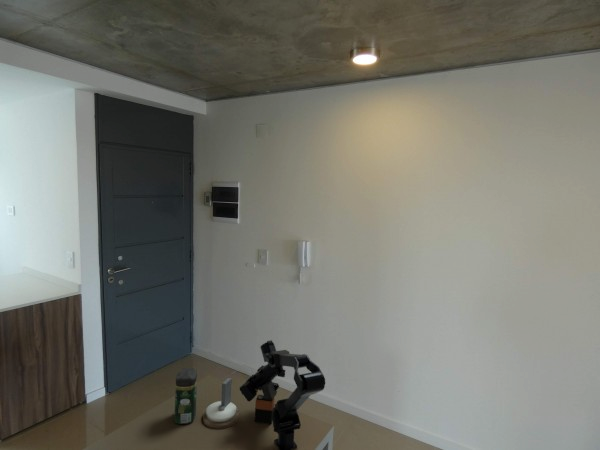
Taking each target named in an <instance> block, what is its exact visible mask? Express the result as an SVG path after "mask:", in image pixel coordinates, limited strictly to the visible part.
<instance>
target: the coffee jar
mask: <svg viewBox="0 0 600 450" xmlns="http://www.w3.org/2000/svg"><path fill="white" fill-rule="evenodd" d="M174 384H175V386H174V387H175V388H174V390H175V392H174V393H175V394H174V419H173V421H174V423H176V424H179V425H186V424H190V423H192V422H193V421H195V418H196V413H197V386H198V385H197V384H198V372H197V370H196V369H195V368H193V367H183V368H182V369H180V370H179V371H178V372H177V375H176V376H175V383H174Z"/></svg>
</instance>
